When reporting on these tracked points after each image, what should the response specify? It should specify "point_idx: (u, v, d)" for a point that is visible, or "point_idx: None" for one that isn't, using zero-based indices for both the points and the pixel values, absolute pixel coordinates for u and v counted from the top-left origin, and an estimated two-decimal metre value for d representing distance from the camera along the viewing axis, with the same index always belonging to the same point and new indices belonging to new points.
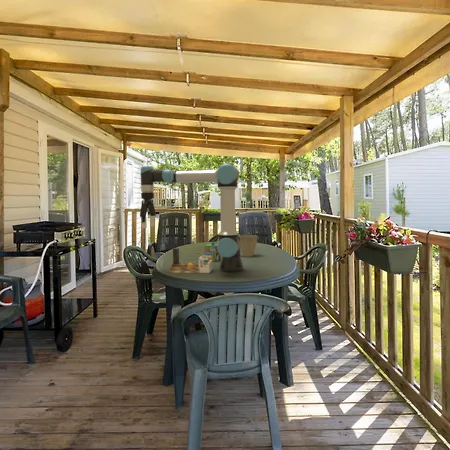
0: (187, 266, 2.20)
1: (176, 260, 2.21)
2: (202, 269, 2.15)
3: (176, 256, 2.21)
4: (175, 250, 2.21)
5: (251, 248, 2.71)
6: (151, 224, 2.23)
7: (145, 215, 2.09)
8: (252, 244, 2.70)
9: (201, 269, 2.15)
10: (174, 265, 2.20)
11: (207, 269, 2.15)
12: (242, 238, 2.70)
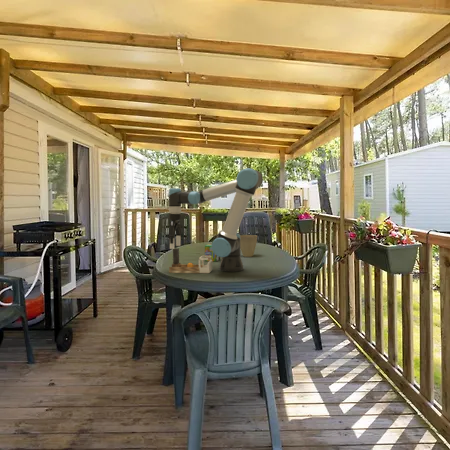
0: (187, 266, 2.20)
1: (176, 260, 2.21)
2: (202, 269, 2.15)
3: (176, 256, 2.21)
4: (175, 250, 2.21)
5: (251, 248, 2.71)
6: (177, 244, 2.28)
7: (173, 236, 2.14)
8: (252, 244, 2.70)
9: (201, 269, 2.15)
10: (174, 265, 2.20)
11: (207, 269, 2.15)
12: (242, 238, 2.70)
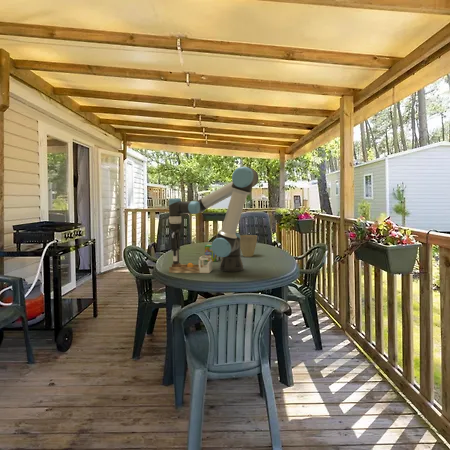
0: (187, 266, 2.20)
1: None
2: (202, 269, 2.15)
3: None
4: None
5: (251, 248, 2.71)
6: None
7: (176, 249, 2.19)
8: (252, 244, 2.70)
9: (201, 269, 2.15)
10: (174, 265, 2.20)
11: (207, 269, 2.15)
12: (242, 238, 2.70)
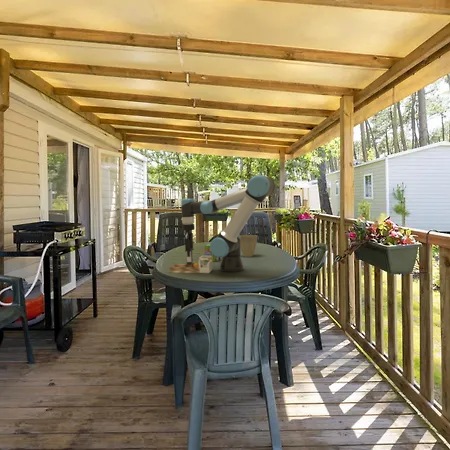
0: (195, 264, 2.20)
1: None
2: (202, 269, 2.15)
3: None
4: None
5: (251, 248, 2.71)
6: None
7: (190, 250, 2.18)
8: (252, 244, 2.70)
9: (201, 269, 2.15)
10: (188, 265, 2.19)
11: (207, 269, 2.15)
12: (242, 238, 2.70)
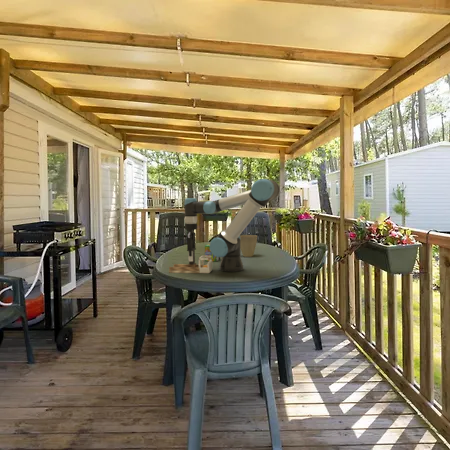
0: None
1: None
2: (202, 269, 2.15)
3: None
4: None
5: (251, 248, 2.71)
6: None
7: None
8: (252, 244, 2.70)
9: (201, 269, 2.15)
10: (190, 265, 2.18)
11: (207, 269, 2.15)
12: (242, 238, 2.70)
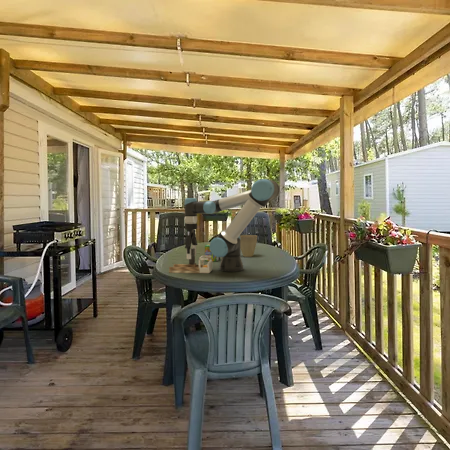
0: None
1: (192, 260, 2.20)
2: (202, 269, 2.15)
3: (192, 256, 2.19)
4: (191, 250, 2.19)
5: (251, 248, 2.71)
6: None
7: (190, 246, 2.13)
8: (252, 244, 2.70)
9: (201, 269, 2.15)
10: (190, 265, 2.18)
11: (207, 269, 2.15)
12: (242, 238, 2.70)
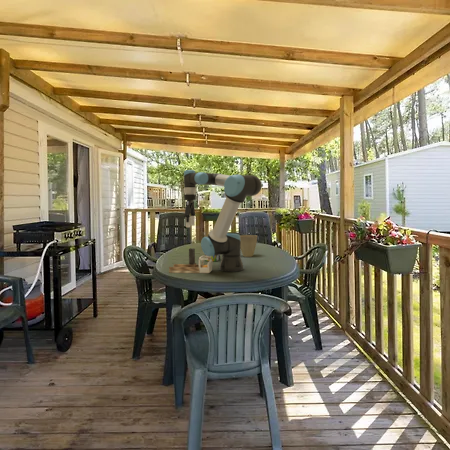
0: None
1: (192, 260, 2.20)
2: (202, 269, 2.15)
3: (192, 256, 2.19)
4: (191, 250, 2.19)
5: (251, 248, 2.71)
6: (192, 224, 2.40)
7: (189, 215, 2.26)
8: (252, 244, 2.70)
9: (201, 269, 2.15)
10: (190, 265, 2.18)
11: (207, 269, 2.15)
12: (242, 238, 2.70)
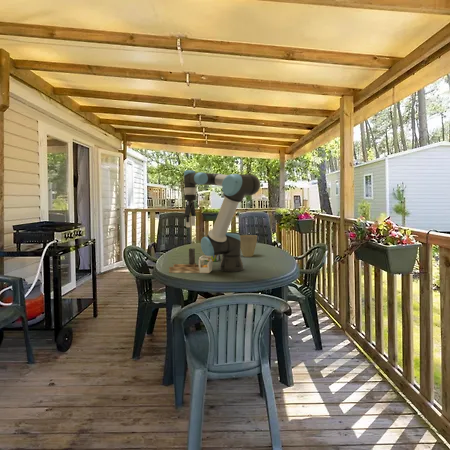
0: None
1: (192, 260, 2.20)
2: (202, 269, 2.15)
3: (192, 256, 2.19)
4: (191, 250, 2.19)
5: (251, 248, 2.71)
6: (192, 224, 2.41)
7: (189, 215, 2.27)
8: (252, 244, 2.70)
9: (201, 269, 2.15)
10: (190, 265, 2.18)
11: (207, 269, 2.15)
12: (242, 238, 2.70)
